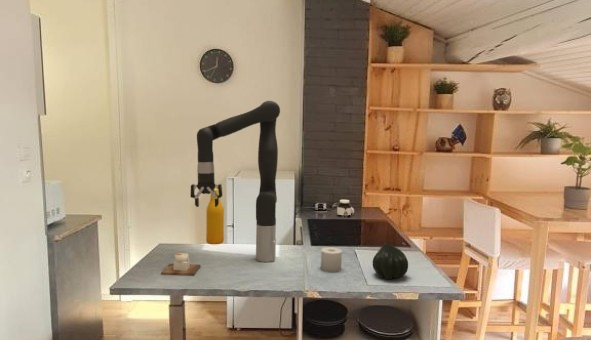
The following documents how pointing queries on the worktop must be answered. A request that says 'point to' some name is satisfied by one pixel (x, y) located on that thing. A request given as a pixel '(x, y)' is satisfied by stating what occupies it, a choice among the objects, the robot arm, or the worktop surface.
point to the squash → (390, 262)
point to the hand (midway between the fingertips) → (206, 206)
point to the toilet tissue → (331, 259)
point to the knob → (181, 261)
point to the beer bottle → (215, 221)
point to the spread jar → (344, 208)
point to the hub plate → (189, 272)
